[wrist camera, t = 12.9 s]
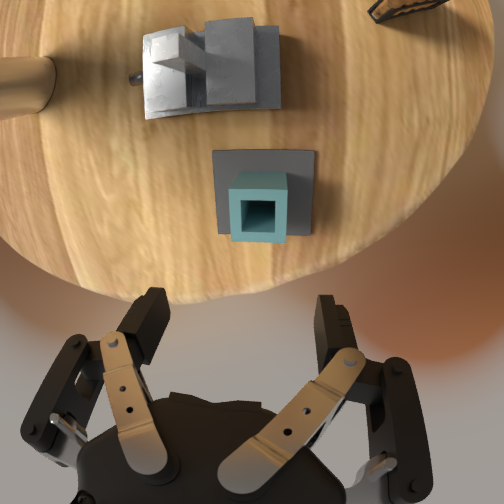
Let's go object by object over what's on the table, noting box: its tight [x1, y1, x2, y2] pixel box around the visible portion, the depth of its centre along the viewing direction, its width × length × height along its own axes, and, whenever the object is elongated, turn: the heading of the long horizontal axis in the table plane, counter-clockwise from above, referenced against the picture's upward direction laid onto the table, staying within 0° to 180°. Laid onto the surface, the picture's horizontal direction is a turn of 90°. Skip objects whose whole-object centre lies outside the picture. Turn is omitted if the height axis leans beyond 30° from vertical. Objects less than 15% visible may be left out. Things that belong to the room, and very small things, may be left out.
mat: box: [212, 149, 314, 236], centre depth 30 cm, size 11×10×1 cm
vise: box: [129, 17, 281, 120], centre depth 18 cm, size 14×9×14 cm, turn 92°
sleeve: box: [229, 172, 288, 243], centre depth 27 cm, size 5×5×7 cm
